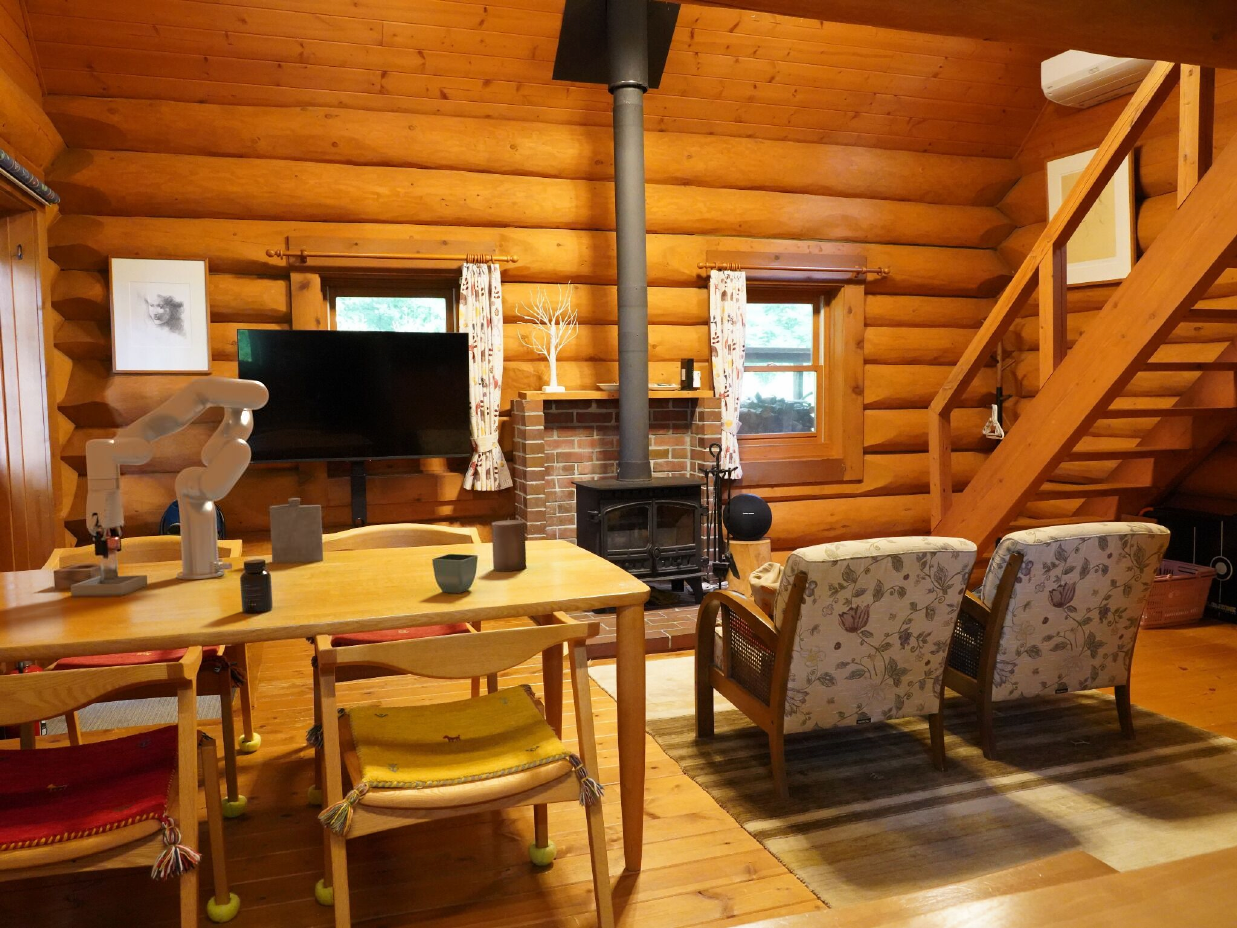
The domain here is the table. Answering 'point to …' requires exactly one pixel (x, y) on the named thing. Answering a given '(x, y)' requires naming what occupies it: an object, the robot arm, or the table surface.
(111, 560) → the pin
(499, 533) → the pillar candle
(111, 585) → the tray
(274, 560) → the hip flask
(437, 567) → the flower pot
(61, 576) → the block
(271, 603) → the supplement bottle
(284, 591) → the table surface
